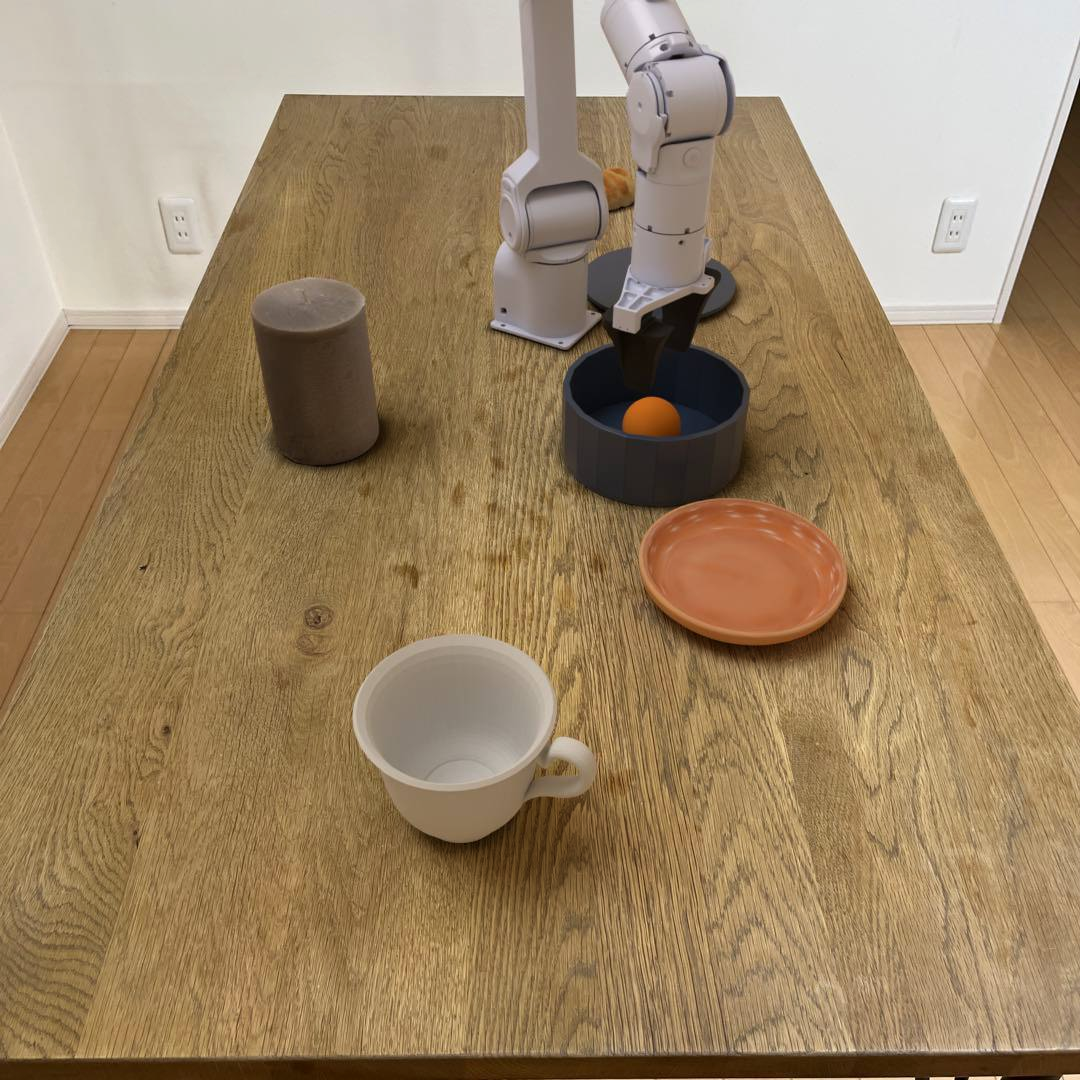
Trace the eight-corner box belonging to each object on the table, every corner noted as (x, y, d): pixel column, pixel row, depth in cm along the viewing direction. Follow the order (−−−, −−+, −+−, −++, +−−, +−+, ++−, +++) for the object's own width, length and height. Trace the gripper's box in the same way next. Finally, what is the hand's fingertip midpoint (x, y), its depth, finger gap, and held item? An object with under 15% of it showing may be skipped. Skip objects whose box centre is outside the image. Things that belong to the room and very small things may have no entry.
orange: (613, 456, 101) (610, 416, 97) (639, 418, 103) (637, 378, 99) (665, 474, 99) (664, 434, 95) (690, 435, 101) (690, 394, 97)
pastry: (585, 222, 137) (586, 192, 135) (551, 204, 141) (551, 175, 139) (641, 202, 142) (642, 173, 139) (606, 186, 146) (607, 157, 143)
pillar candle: (280, 474, 99) (251, 325, 89) (270, 414, 106) (242, 270, 96) (388, 456, 100) (372, 309, 91) (371, 399, 108) (355, 256, 98)
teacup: (553, 934, 65) (556, 835, 58) (334, 848, 69) (313, 747, 63) (622, 779, 73) (631, 678, 67) (422, 712, 78) (412, 610, 71)
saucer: (838, 535, 92) (844, 507, 90) (844, 675, 80) (852, 647, 78) (646, 514, 94) (649, 486, 92) (625, 648, 82) (627, 620, 81)
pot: (529, 470, 99) (528, 404, 94) (613, 384, 110) (616, 322, 105) (695, 529, 93) (703, 462, 88) (767, 432, 103) (777, 368, 99)
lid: (553, 302, 122) (553, 255, 118) (624, 241, 133) (626, 197, 130) (695, 343, 116) (701, 295, 112) (758, 276, 127) (764, 230, 123)
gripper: (677, 269, 80) (663, 423, 89) (753, 196, 90) (733, 342, 99) (591, 246, 83) (586, 398, 92) (674, 178, 92) (662, 322, 101)
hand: (657, 368), depth 96 cm, fingers open, 7 cm apart
